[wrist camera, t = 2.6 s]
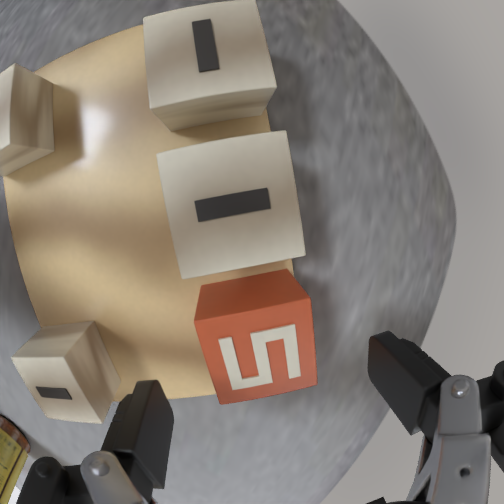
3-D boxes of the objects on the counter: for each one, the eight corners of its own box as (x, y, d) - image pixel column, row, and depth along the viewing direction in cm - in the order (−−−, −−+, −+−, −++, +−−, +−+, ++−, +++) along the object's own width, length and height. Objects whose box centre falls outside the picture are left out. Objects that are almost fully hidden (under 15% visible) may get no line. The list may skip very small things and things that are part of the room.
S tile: (200, 284, 14) (192, 322, 10) (287, 267, 14) (312, 298, 10) (219, 357, 15) (220, 406, 11) (296, 341, 15) (318, 386, 11)
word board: (8, 93, 10) (-35, 79, 5) (242, 11, 11) (251, -40, 6) (81, 395, 15) (58, 438, 11) (303, 371, 16) (325, 422, 12)
